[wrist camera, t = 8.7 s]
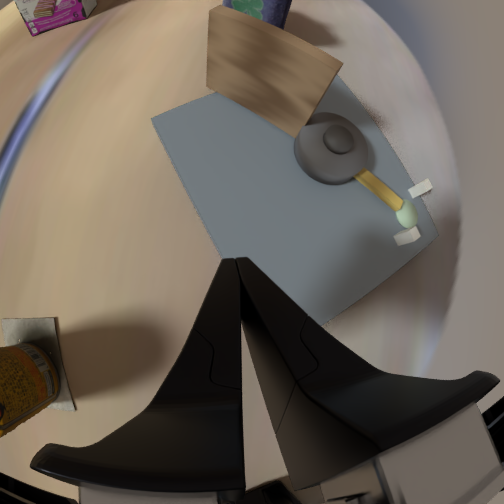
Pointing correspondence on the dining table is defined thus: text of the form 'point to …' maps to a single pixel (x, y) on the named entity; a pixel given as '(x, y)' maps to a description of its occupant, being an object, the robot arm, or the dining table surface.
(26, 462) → the dining table surface
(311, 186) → the stand
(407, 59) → the dining table surface
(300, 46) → the brown piece
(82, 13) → the candy bar box
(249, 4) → the flask
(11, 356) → the condiment
